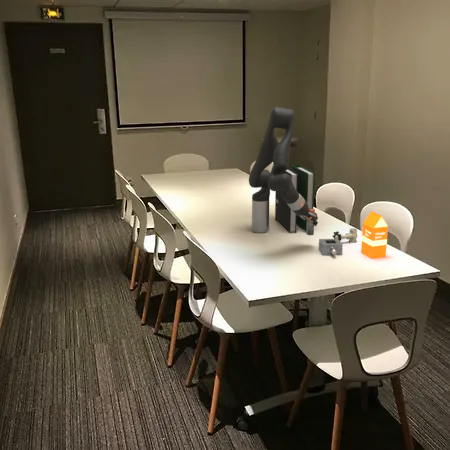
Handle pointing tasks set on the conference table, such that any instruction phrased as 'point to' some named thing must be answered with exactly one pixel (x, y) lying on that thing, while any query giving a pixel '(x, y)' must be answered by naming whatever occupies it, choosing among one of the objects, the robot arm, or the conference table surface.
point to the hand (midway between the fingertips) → (313, 223)
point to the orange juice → (374, 236)
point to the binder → (305, 188)
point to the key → (310, 224)
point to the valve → (347, 235)
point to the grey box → (330, 247)
